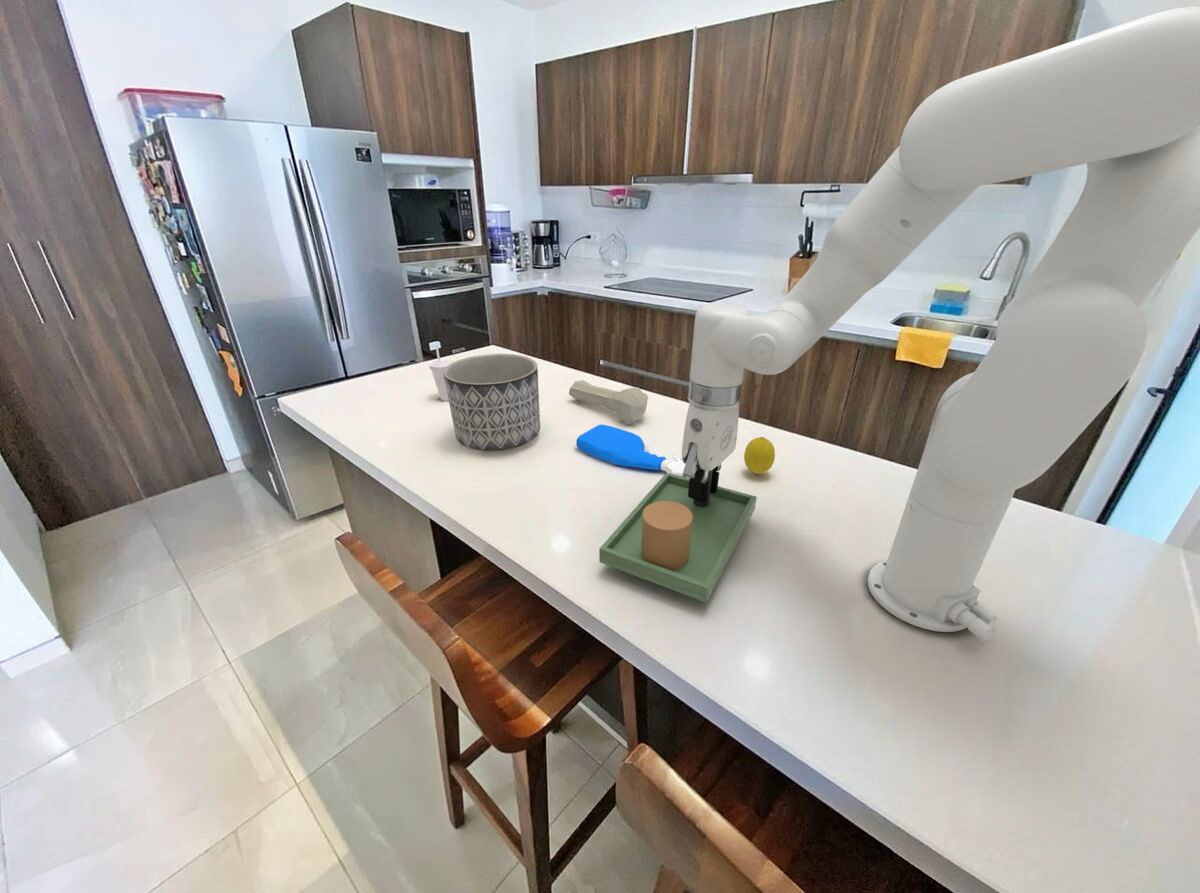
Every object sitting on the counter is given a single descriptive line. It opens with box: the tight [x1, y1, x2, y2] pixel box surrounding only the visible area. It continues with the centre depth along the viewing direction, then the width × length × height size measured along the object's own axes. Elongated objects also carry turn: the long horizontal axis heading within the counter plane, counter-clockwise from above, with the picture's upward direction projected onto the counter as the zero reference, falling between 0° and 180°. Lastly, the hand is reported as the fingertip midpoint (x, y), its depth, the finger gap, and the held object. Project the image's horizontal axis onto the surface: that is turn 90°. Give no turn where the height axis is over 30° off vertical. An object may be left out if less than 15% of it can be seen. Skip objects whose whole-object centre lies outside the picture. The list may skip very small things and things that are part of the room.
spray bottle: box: [575, 424, 686, 477], centre depth 102 cm, size 3×11×24 cm
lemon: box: [743, 436, 776, 475], centre depth 94 cm, size 6×6×8 cm
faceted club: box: [568, 379, 649, 425], centre depth 123 cm, size 9×8×25 cm
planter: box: [443, 353, 541, 452], centre depth 107 cm, size 19×19×16 cm
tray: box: [598, 467, 758, 603], centre depth 75 cm, size 24×16×8 cm, turn 150°
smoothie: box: [428, 346, 455, 402], centre depth 129 cm, size 6×6×14 cm
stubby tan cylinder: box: [641, 501, 693, 571], centre depth 70 cm, size 7×7×7 cm
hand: (702, 494), depth 82 cm, fingers closed on tray, 2 cm apart
